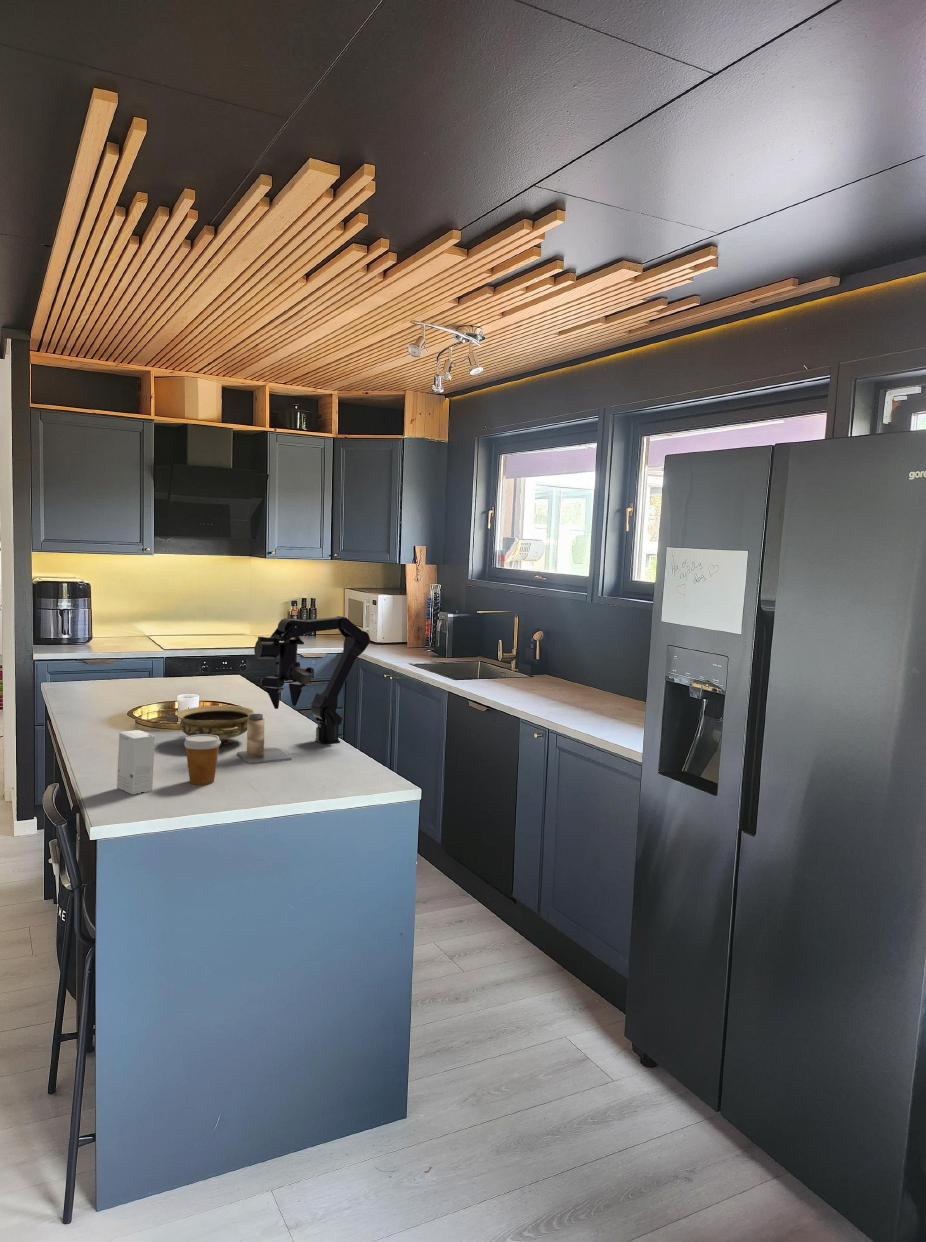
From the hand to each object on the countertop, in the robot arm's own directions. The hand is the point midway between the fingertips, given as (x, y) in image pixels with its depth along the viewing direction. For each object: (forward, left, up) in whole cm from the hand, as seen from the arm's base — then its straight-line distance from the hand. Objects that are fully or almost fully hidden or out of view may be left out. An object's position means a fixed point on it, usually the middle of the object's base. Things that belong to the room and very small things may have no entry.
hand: (285, 707), depth 266 cm
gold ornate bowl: (+19, -13, -13) cm, 26 cm away
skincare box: (+50, +31, -13) cm, 60 cm away
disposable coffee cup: (+33, +30, -13) cm, 46 cm away
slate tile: (+10, +10, -13) cm, 19 cm away
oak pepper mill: (+12, +10, -12) cm, 20 cm away
